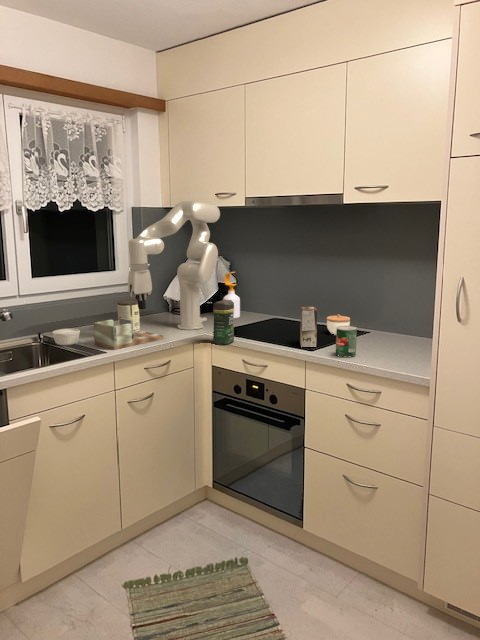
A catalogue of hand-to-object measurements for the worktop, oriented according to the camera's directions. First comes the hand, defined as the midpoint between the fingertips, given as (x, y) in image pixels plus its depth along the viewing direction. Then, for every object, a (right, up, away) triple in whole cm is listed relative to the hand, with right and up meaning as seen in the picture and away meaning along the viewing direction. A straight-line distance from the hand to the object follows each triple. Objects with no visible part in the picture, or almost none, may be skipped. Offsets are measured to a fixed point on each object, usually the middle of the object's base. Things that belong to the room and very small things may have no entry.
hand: (142, 308), depth 236 cm
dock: (-5, -14, -3) cm, 15 cm away
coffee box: (+72, -16, -10) cm, 74 cm away
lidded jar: (+89, -12, +11) cm, 90 cm away
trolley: (-9, -13, -8) cm, 17 cm away
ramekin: (-32, -15, -4) cm, 35 cm away
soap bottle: (+39, -3, +52) cm, 65 cm away
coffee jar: (+36, -15, -5) cm, 40 cm away
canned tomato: (+85, -19, -25) cm, 91 cm away
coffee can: (-10, -10, +20) cm, 24 cm away
